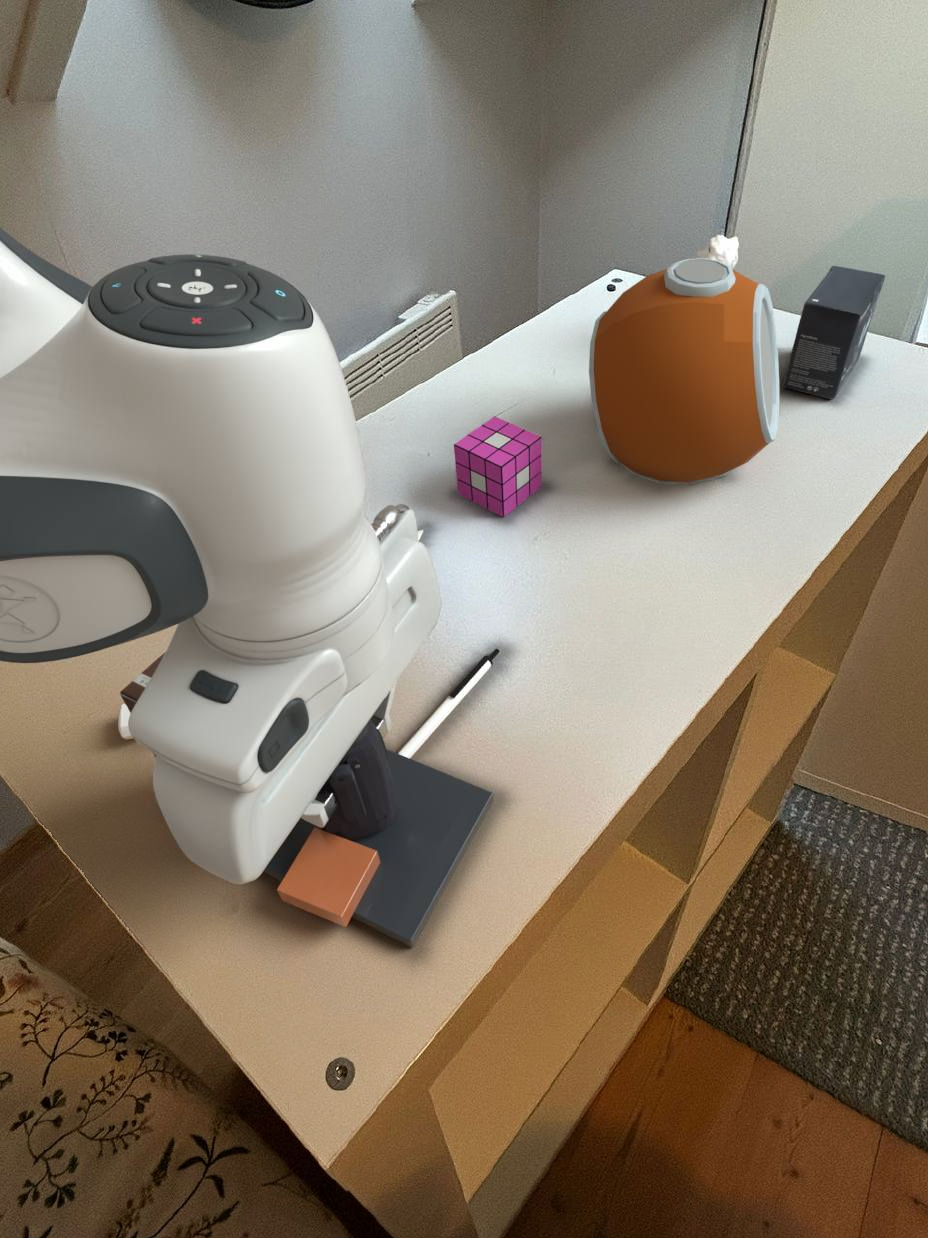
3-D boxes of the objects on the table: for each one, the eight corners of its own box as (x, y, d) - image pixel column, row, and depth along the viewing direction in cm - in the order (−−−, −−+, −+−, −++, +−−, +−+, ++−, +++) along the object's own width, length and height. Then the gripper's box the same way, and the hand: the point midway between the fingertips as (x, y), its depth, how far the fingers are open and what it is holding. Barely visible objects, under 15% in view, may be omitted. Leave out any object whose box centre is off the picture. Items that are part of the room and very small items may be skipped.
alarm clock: (761, 521, 72) (809, 338, 60) (566, 492, 77) (572, 316, 64) (777, 403, 84) (820, 230, 72) (608, 384, 89) (620, 218, 76)
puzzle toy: (542, 487, 78) (542, 436, 73) (503, 518, 75) (501, 467, 71) (496, 465, 80) (494, 415, 76) (457, 494, 78) (452, 444, 74)
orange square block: (281, 900, 50) (276, 889, 49) (319, 838, 53) (314, 826, 52) (346, 927, 49) (341, 917, 48) (380, 862, 52) (377, 850, 50)
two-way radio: (396, 784, 55) (357, 640, 44) (411, 843, 52) (374, 705, 41) (314, 807, 54) (254, 667, 43) (325, 868, 51) (264, 735, 40)
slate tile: (239, 860, 53) (235, 853, 53) (333, 733, 60) (330, 725, 59) (412, 949, 49) (410, 942, 48) (494, 800, 55) (493, 792, 54)
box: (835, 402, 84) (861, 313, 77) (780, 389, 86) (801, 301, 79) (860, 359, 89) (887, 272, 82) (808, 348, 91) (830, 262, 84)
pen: (502, 656, 64) (502, 647, 63) (338, 843, 54) (335, 835, 53) (492, 651, 64) (492, 642, 63) (328, 836, 54) (325, 828, 53)
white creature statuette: (668, 317, 98) (680, 212, 89) (742, 326, 95) (763, 219, 87) (649, 357, 92) (661, 249, 83) (728, 368, 89) (748, 258, 81)
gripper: (358, 473, 46) (390, 637, 56) (97, 752, 34) (197, 897, 44) (458, 500, 44) (473, 666, 54) (215, 809, 32) (293, 948, 42)
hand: (347, 772), depth 49 cm, fingers closed on two-way radio, 5 cm apart
